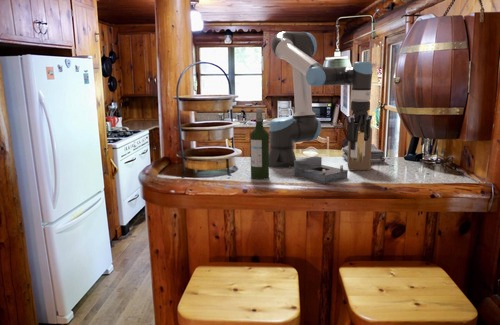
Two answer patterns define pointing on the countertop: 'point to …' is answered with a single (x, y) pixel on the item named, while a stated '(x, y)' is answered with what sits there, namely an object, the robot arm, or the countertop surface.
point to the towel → (375, 154)
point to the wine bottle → (259, 149)
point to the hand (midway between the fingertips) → (357, 156)
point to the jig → (318, 170)
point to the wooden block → (366, 158)
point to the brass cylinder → (359, 147)
